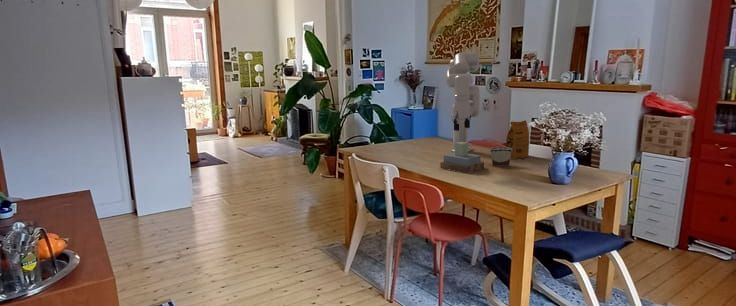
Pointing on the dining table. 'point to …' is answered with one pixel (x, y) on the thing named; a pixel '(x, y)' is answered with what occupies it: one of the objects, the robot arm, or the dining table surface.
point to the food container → (501, 156)
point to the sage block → (461, 149)
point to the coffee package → (518, 139)
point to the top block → (462, 159)
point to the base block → (462, 167)
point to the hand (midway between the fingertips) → (461, 129)
